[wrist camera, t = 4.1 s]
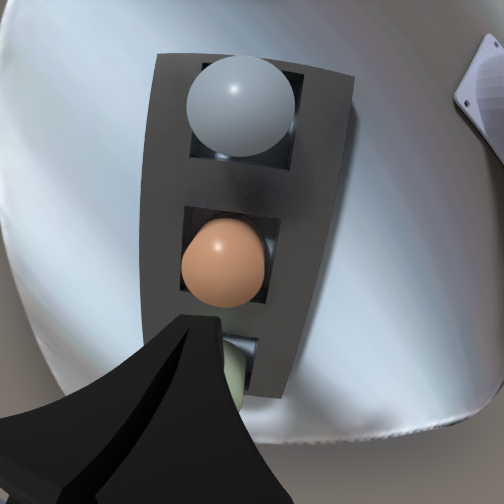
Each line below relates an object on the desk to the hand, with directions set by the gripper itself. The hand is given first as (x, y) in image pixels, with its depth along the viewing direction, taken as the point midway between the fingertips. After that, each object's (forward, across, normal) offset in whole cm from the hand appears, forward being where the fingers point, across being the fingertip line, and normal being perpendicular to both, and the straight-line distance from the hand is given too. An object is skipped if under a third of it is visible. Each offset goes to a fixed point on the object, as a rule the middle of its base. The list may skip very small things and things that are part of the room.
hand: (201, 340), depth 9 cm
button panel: (+9, 0, 0) cm, 9 cm away
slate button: (+7, -1, -7) cm, 10 cm away
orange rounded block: (+9, 0, 0) cm, 9 cm away
